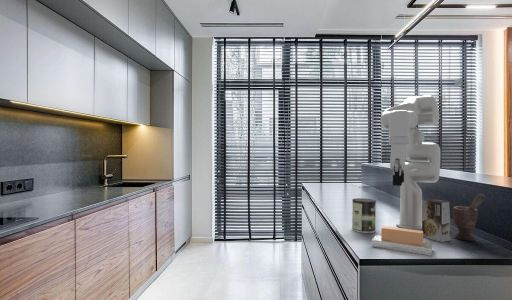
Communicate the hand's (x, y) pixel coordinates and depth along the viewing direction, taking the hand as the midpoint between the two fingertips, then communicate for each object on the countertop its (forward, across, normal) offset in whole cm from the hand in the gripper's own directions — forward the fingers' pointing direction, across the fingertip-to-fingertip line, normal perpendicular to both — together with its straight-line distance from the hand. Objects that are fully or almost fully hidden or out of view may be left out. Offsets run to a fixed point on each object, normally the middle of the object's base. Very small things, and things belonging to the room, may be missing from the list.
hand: (398, 183), depth 129 cm
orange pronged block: (+23, +9, +2) cm, 25 cm away
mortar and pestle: (+25, -20, +25) cm, 41 cm away
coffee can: (+24, -11, -16) cm, 31 cm away
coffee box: (+24, -14, +13) cm, 31 cm away
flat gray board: (+23, +9, +2) cm, 25 cm away
